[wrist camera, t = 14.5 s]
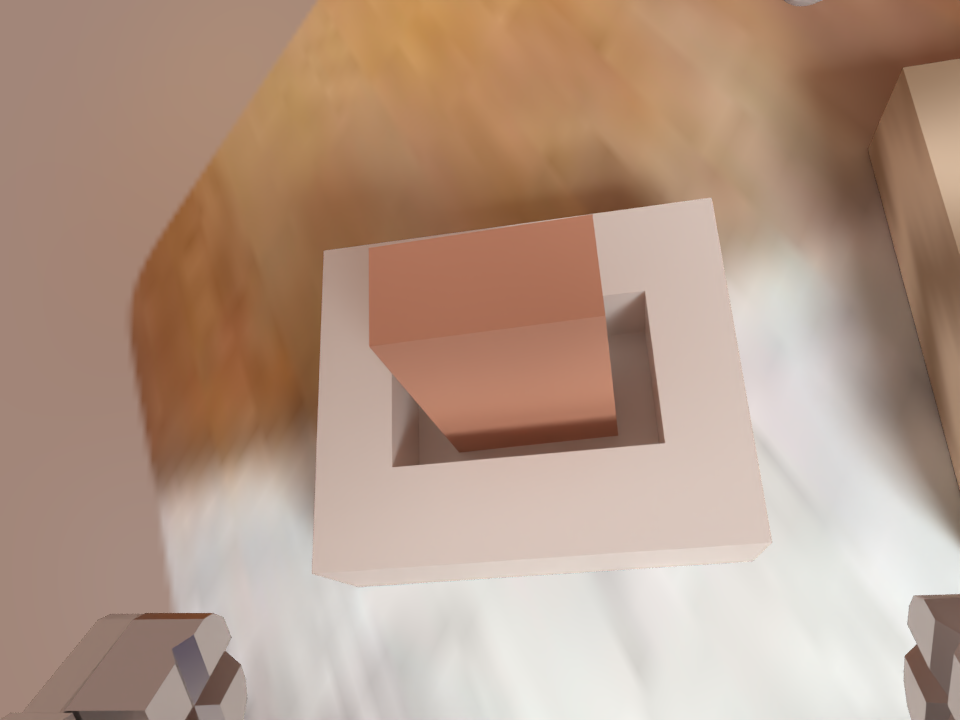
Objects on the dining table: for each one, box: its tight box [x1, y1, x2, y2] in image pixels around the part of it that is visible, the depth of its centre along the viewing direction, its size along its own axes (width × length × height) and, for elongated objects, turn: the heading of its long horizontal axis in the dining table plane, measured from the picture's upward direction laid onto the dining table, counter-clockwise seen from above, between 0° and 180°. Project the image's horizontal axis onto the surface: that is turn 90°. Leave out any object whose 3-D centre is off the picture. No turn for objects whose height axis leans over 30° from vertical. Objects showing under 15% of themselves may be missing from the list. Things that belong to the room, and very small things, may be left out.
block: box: [369, 214, 618, 452], centre depth 21 cm, size 2×5×9 cm, turn 94°
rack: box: [312, 198, 772, 587], centre depth 24 cm, size 10×12×4 cm
